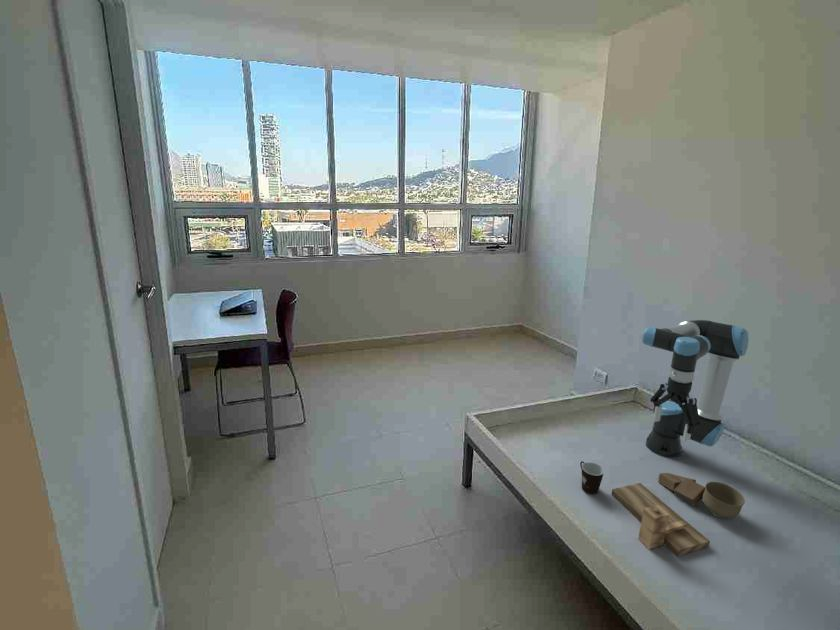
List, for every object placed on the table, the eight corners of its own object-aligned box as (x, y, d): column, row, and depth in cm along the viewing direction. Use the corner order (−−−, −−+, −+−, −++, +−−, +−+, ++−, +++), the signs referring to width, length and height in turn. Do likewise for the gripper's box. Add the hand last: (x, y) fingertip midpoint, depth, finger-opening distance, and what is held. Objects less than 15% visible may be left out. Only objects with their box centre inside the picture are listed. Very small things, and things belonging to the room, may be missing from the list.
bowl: (730, 531, 158) (736, 508, 155) (693, 510, 168) (698, 488, 165) (745, 517, 164) (751, 495, 162) (709, 498, 175) (714, 477, 172)
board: (639, 487, 180) (640, 482, 179) (708, 546, 151) (710, 540, 150) (611, 494, 176) (612, 489, 175) (677, 556, 147) (678, 550, 146)
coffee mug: (602, 497, 174) (606, 476, 171) (580, 494, 176) (583, 473, 173) (597, 479, 185) (600, 459, 182) (576, 476, 187) (579, 456, 184)
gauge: (676, 527, 159) (683, 496, 155) (688, 537, 154) (695, 506, 151) (638, 538, 154) (644, 506, 150) (649, 549, 149) (655, 516, 146)
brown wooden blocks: (677, 482, 188) (715, 505, 171) (652, 484, 185) (689, 508, 168) (680, 466, 188) (718, 488, 170) (655, 467, 184) (692, 489, 167)
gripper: (645, 366, 167) (637, 415, 174) (703, 396, 145) (691, 450, 151) (661, 364, 170) (652, 412, 176) (720, 392, 147) (708, 446, 153)
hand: (670, 430), depth 163 cm, fingers open, 13 cm apart
